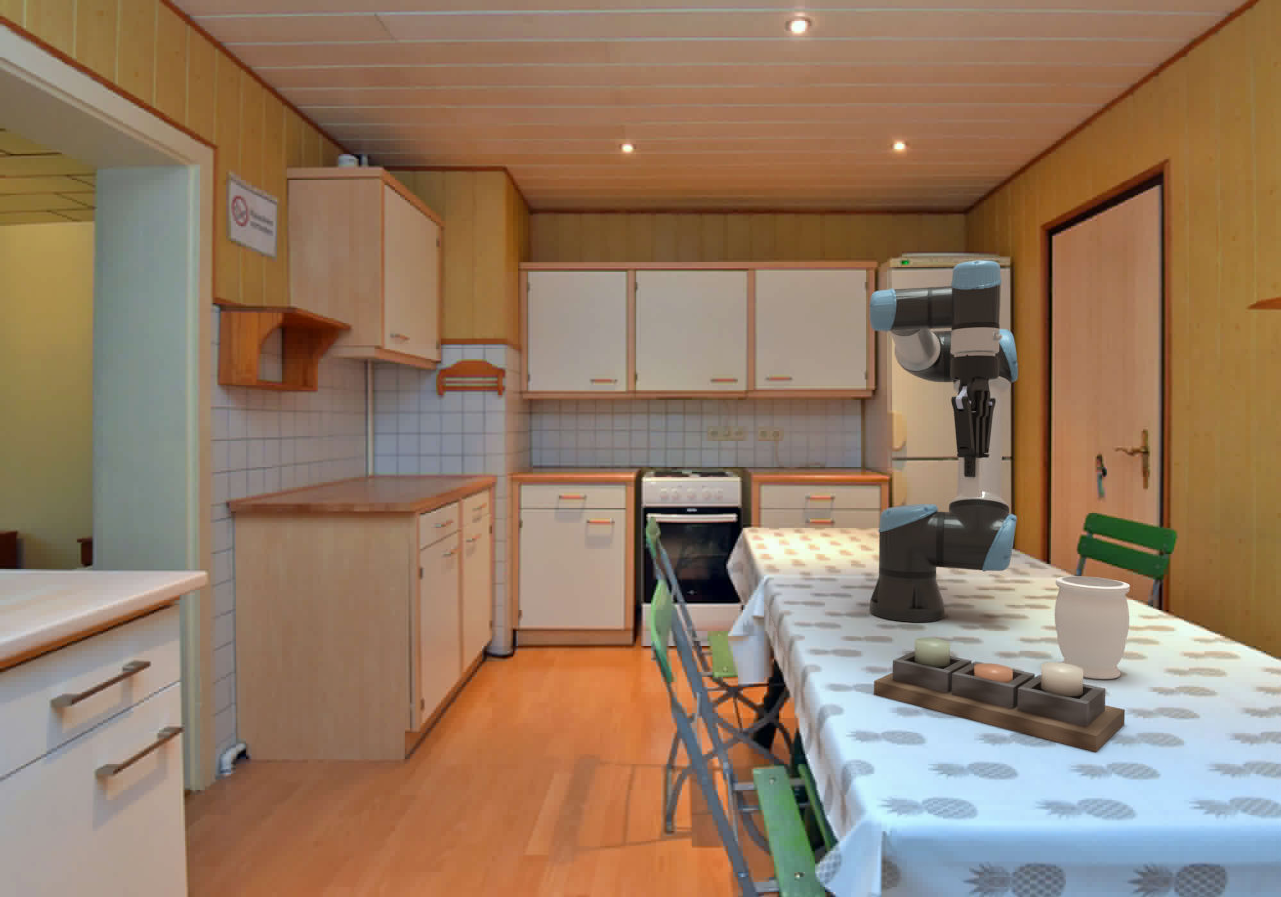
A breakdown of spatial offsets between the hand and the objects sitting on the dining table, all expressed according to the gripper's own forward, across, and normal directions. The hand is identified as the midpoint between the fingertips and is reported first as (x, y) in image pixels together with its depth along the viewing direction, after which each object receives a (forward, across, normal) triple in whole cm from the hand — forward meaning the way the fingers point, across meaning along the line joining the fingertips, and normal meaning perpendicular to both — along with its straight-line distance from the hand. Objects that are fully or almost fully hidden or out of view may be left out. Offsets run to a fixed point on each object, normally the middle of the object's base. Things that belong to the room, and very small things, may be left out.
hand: (972, 496), depth 135 cm
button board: (+28, -19, -11) cm, 36 cm away
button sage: (+24, -19, -2) cm, 30 cm away
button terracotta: (+26, -19, -11) cm, 34 cm away
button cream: (+24, -19, -20) cm, 36 cm away
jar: (+29, +9, -16) cm, 34 cm away
